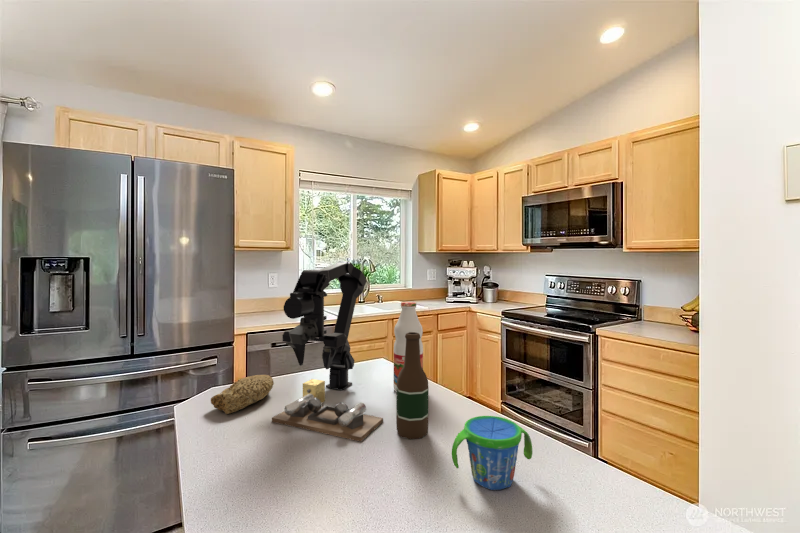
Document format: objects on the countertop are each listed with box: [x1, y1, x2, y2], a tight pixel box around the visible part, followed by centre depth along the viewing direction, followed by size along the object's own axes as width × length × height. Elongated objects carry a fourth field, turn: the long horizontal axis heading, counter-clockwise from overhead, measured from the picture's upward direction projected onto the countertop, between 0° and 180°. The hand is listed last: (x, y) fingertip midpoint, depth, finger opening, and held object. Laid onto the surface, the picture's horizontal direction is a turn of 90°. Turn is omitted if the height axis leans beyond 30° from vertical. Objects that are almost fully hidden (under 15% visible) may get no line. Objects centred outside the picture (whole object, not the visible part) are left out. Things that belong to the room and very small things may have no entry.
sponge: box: [210, 374, 275, 415], centre depth 110 cm, size 13×8×20 cm
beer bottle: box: [395, 332, 430, 440], centre depth 90 cm, size 8×8×24 cm
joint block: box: [302, 378, 326, 404], centre depth 109 cm, size 5×4×6 cm
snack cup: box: [451, 415, 533, 491], centre depth 71 cm, size 16×10×10 cm
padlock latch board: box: [271, 403, 384, 442], centre depth 96 cm, size 12×26×4 cm, turn 67°
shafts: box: [283, 394, 367, 427], centre depth 95 cm, size 9×18×4 cm, turn 67°
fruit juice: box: [393, 301, 424, 393], centre depth 120 cm, size 9×9×28 cm
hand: (314, 367), depth 109 cm, fingers open, 9 cm apart
